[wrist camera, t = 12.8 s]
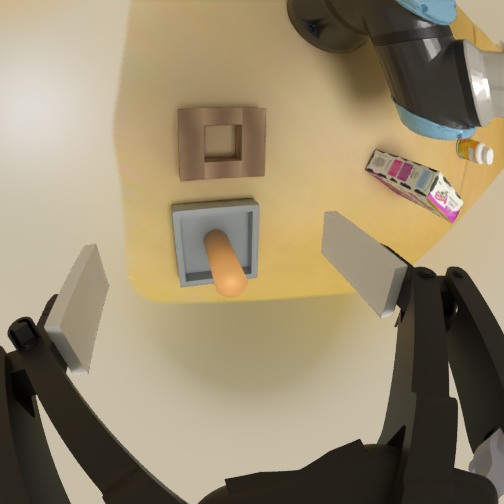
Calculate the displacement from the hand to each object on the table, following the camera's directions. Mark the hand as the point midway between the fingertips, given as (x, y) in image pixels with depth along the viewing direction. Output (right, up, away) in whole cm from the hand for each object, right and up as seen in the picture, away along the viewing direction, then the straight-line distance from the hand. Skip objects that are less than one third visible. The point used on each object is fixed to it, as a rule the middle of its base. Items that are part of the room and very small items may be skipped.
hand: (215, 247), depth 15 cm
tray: (-4, +2, +31) cm, 32 cm away
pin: (-4, +2, +31) cm, 31 cm away
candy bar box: (+29, +16, +35) cm, 48 cm away
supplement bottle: (+55, +26, +37) cm, 72 cm away
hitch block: (-3, +16, +24) cm, 29 cm away
